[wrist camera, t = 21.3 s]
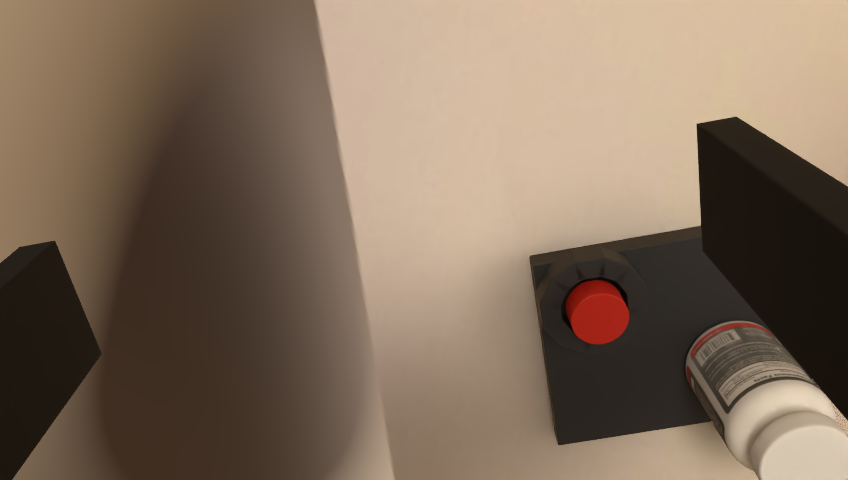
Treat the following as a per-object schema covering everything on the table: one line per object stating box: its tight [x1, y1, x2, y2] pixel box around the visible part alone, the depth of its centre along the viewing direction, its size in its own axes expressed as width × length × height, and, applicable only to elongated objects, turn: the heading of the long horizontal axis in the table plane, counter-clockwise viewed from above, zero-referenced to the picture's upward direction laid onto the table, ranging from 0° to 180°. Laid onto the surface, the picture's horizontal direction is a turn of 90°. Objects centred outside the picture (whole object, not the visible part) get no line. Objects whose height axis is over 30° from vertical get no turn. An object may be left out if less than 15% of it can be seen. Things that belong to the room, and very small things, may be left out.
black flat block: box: [530, 226, 812, 445], centre depth 45 cm, size 16×14×3 cm
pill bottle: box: [686, 321, 848, 480], centre depth 42 cm, size 6×6×10 cm
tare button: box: [566, 280, 629, 344], centre depth 43 cm, size 3×3×2 cm
